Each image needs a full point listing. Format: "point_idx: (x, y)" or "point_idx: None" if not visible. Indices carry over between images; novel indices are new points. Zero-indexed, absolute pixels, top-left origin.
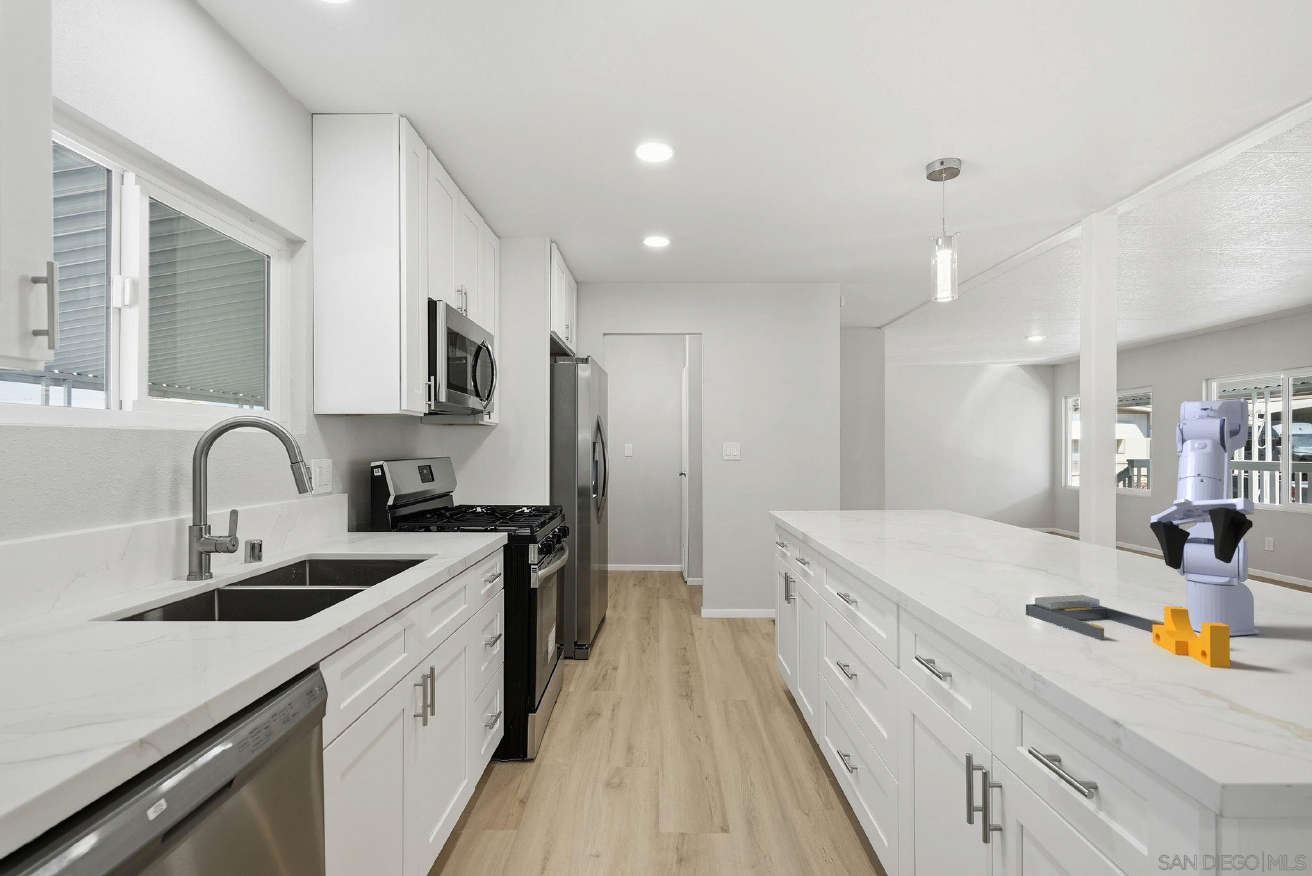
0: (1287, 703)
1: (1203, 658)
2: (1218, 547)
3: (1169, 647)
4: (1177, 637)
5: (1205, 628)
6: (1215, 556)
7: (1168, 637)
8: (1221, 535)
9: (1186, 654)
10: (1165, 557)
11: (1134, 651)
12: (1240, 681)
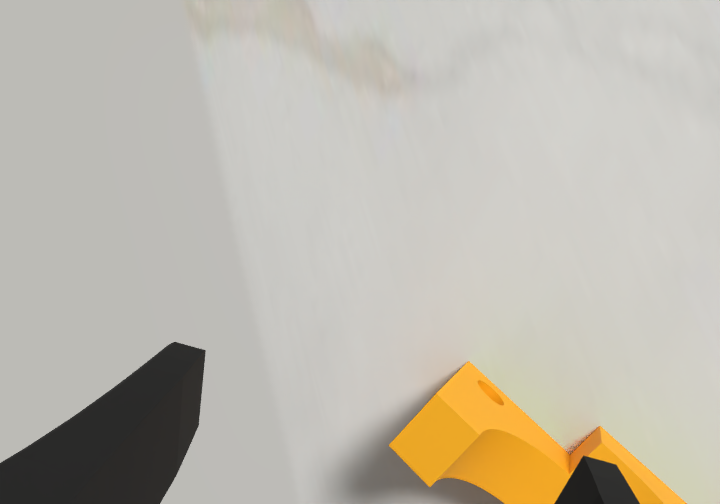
0: (246, 175)
1: (496, 394)
2: (130, 376)
3: (633, 459)
4: None
5: (464, 410)
6: (198, 355)
7: (643, 479)
8: (29, 448)
9: (573, 453)
10: (628, 501)
11: (715, 337)
12: (365, 272)
